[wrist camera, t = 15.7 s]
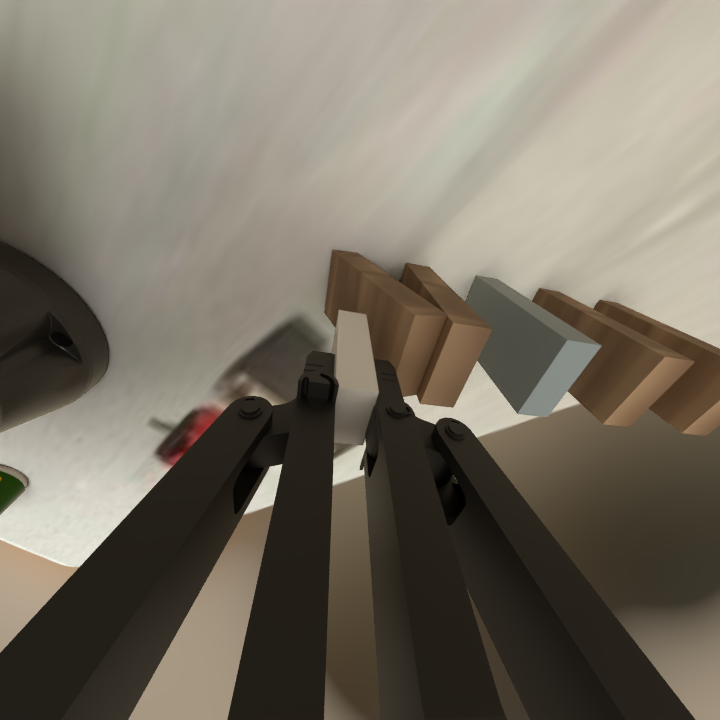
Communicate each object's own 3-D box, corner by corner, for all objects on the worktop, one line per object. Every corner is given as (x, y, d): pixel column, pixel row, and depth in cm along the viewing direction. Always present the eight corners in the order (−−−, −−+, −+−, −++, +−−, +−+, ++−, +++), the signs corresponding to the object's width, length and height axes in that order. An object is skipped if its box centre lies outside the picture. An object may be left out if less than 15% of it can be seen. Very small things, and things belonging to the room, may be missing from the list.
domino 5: (566, 347, 27) (681, 432, 18) (599, 299, 25) (753, 371, 15) (584, 350, 28) (705, 435, 18) (618, 303, 25) (780, 375, 16)
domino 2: (390, 319, 25) (419, 403, 15) (406, 262, 22) (453, 323, 13) (411, 323, 25) (453, 407, 16) (429, 267, 22) (492, 329, 13)
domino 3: (453, 329, 25) (517, 413, 16) (476, 275, 23) (567, 339, 14) (473, 332, 26) (547, 417, 17) (498, 279, 23) (601, 345, 14)
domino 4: (511, 338, 26) (602, 423, 17) (539, 288, 24) (665, 356, 15) (530, 341, 27) (629, 426, 17) (559, 292, 24) (695, 361, 15)
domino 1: (324, 312, 23) (387, 399, 15) (332, 250, 20) (415, 315, 12) (346, 312, 24) (417, 394, 16) (357, 252, 21) (448, 315, 13)
